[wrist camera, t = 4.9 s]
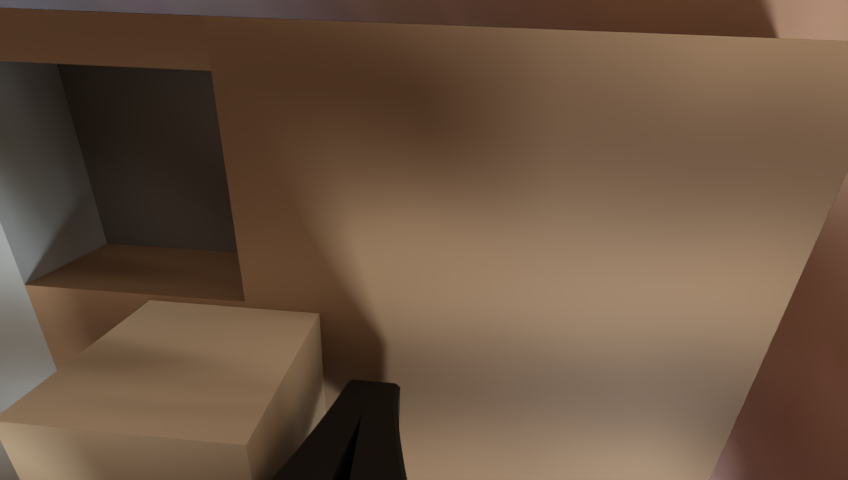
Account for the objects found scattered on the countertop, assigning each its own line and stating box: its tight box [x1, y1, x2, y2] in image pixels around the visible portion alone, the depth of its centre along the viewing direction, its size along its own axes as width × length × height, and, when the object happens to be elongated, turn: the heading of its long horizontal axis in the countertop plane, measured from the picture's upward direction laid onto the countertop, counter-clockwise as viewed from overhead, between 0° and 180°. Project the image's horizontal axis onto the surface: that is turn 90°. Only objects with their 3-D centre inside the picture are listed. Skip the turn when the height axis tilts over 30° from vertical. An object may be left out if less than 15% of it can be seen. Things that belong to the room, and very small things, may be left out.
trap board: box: [0, 8, 848, 480], centre depth 13 cm, size 18×30×3 cm, turn 88°
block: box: [0, 300, 326, 480], centre depth 10 cm, size 4×4×4 cm
